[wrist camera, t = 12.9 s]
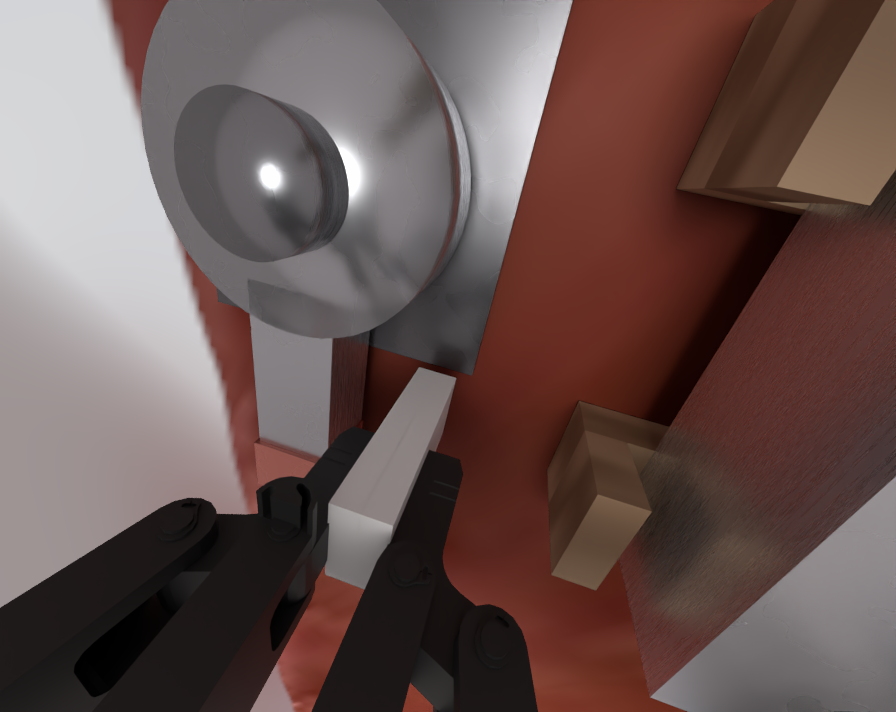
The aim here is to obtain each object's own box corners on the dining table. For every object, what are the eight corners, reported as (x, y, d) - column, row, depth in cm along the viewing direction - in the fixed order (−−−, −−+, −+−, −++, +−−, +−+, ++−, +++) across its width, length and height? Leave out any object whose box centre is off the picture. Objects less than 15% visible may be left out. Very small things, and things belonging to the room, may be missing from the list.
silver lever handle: (213, -11, 10) (5, -141, 6) (503, 39, 9) (478, -78, 5) (252, 420, 18) (170, 486, 14) (413, 475, 17) (375, 562, 13)
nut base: (473, 370, 15) (471, 375, 14) (226, 298, 16) (218, 301, 16) (576, -12, 9) (578, -22, 9) (186, -71, 11) (171, -82, 10)
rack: (751, 534, 15) (840, 677, 11) (547, 469, 16) (551, 574, 12) (1188, 80, 8) (2094, -78, 3) (755, 15, 9) (983, -170, 4)
